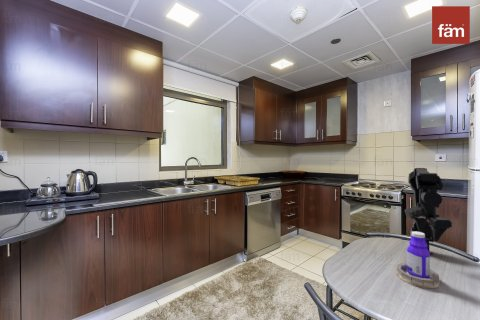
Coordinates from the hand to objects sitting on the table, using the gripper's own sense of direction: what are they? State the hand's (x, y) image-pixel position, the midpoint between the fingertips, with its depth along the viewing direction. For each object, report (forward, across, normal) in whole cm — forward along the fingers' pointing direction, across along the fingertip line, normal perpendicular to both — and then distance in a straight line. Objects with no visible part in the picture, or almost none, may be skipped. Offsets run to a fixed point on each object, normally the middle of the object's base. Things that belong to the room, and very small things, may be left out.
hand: (428, 237), depth 96 cm
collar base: (+13, +11, -11) cm, 20 cm away
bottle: (+12, +11, -11) cm, 20 cm away
